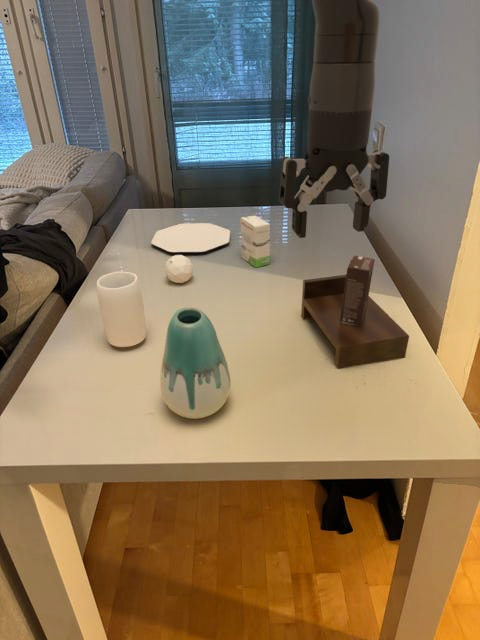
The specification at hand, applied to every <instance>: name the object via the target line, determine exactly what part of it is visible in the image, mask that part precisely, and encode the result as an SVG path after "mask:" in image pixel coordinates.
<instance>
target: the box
mask: <svg viewBox="0 0 480 640" xmlns="http://www.w3.org/2000/svg"><path fill="white" fill-rule="evenodd" d="M375 261H376V259H375V258H372V257H371V258H370V257H367V256H366V257H364V256H359V255H353V256H352V258H351V260H349V263H348V265H347V267H346V274H345V275H346V281H345V288H344V295H343V302H342V309H341V316H340V322H342V323H346V324H351V325H358V326H361V323H362V320H363V317H364V315H365V313H366V308H367V302H368V296H369V297H370V290H371V289H370V288H371V283H372V279H373V273H374V266H375Z"/></svg>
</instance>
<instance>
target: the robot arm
mask: <svg viewBox="0 0 480 640" xmlns="http://www.w3.org/2000/svg"><path fill="white" fill-rule="evenodd" d="M311 4H312V10H313V13H314V14H313V15H314V21H315V26H314V27H315V28H314V39H313V40H314V41H313V57H312V59H313V60H312V61H313V62H312V71H311V76H310V82H309V94H308V96H307V97H308V98H307V103H308V115H307V116H308V117H307V135H306V136H307V138H306V153H305V156H304V157H303V158H291V157H290V156H284V157H282V159H281V167H280V180H279V191H278V192H279V193H278V201H279V202H280V204H282V205H283V207H284V208H286V209H292V211H291V229H292V231H293V233H294V234H295V235H296V236H297V237H298V238H299V239H303V238H304V239H305V238H306V236H307V224H308V223H307V220H308V219H307V218H308V211H307V208H309V205H310V204H311V203H312V201H313V200H315V199H317V197H319V195H320V194H321V192H322V191H323V192H325V193H329V192H332V191H336V190H339V191H348V190H349V189H350V190H351V191H352V193H353V194H354V196H355V198H356V199H357V201H355V202H354V210H353V219H352V228H353V229H354V230H355V231H356V232H357V233H358V232H359V233H360V232H361V233H362V232H364V231H365V228H367V227H368V224H369V219H370V213H371V205H372V204H373V203H374V202H375V201H378V200H384V199H386V196H387V189H388V178H389V166H390V154H389V153H387V152H385V151H382V150H379V149H375V150H373V152H369V153H368V152H367V146H368V144H369V139H370V132H371V131H370V130H371V123H372V112H373V103H374V95H375V86H376V57H377V48H378V41H379V31H380V30H379V29H380V9H379V6H378V4H377V3H375V1H373V0H311ZM367 166H368V167H369V169H370V177H369V178H370V180H369V188H368V185H367V184H366V183H365V181H364V179H363V178H362V176H361V174H362V173H363V171H364V170H365V168H366V167H367ZM303 170H305V172H306V173H307V176H306V177H305V179H304V180H303V181H302V183H301V184H300V186H299V190H298V192H296V194H295V191H296V181H297V177H299V176H300V175H301V172H302V171H303Z"/></svg>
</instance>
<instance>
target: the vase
mask: <svg viewBox="0 0 480 640" xmlns="http://www.w3.org/2000/svg"><path fill="white" fill-rule="evenodd" d="M165 335H166V337H165V345H164V350H163V354H162V355H163V356H162V360H161V365H160V372H159V388H160V394H161V396H162V399H163V401H164V403H165V404H166V406H167V407H168V408H169V409H170V410H171V411H172V412H173V413H175V414H176V415H178V416H180V417H183V418H185V419H192V420H194V419H195V420H199V419H204V418H208V417H210V416H212V415H214V414H215V413H216V412H218V411H219V410H220V409H222V407H223V406H224V404H225V403H226V402H227V400H228V398H229V395H230V391H231V375H230V374H231V373H230V370H229V365H228V362H227V359H226V356H225V354H224V351H223V348H222V346H221V344H220V340H219V337H218V335H217V331H216V329H215V326H214V325H213V323H212V321H211V319H210V318H209V317H208V315H206V313H204V311H202V310H200V309H199V308H196V307H182V308H179V309H178V310H176V311H175V312H174V314H173V315H172V317H171V319H170V320H169V323H168V326H167V331H166V334H165Z"/></svg>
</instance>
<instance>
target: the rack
mask: <svg viewBox="0 0 480 640" xmlns="http://www.w3.org/2000/svg"><path fill="white" fill-rule="evenodd" d="M345 281H346V274H341V275H333V276H325V277H317V278H309V279H303V280H302V293H301V295H302V297H301V313H300V314H301V315H300V316H301V318H302V319H303V320H311V319H313V320H314V321H315V323H316V324H317V325H318V327H319V328H320V330H321V331H322V332H323V334H324V335H325V336H326V338H327V339H328V340H329V342H330V344H332V346H333V347H334V348H335V355H334V356H335V358H334V366H335V367H336V369H337V370H339V369H343V368H349V367H356V366H363V365H368V364H369V365H370V364H374V363H379V362H380V363H381V362H386V361H392V360H398V359H403V358H406V354H407V349H408V345H409V341H410V340H409V339H410V335H409V334H408V333H407V332H406V331H405V330H404V329H403V327H401V326H400V325H399V324H398V323H397V322H396V321H395V320H394V319H393V318H392V317H391V316H390V315H389V314H388V313H387V312H386V311H385V310H384V309H383V308H382V306H380V305H379V304H378V303H376V301H375V300H374V299H373V298H371V296H370V295H369V296H368V302H367V308H366V313H365V315H364V317H363V320H362V323H361V326H358V325H351V324H346V323H342V322H340V316H341V309H342V302H343V295H344V288H345Z"/></svg>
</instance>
